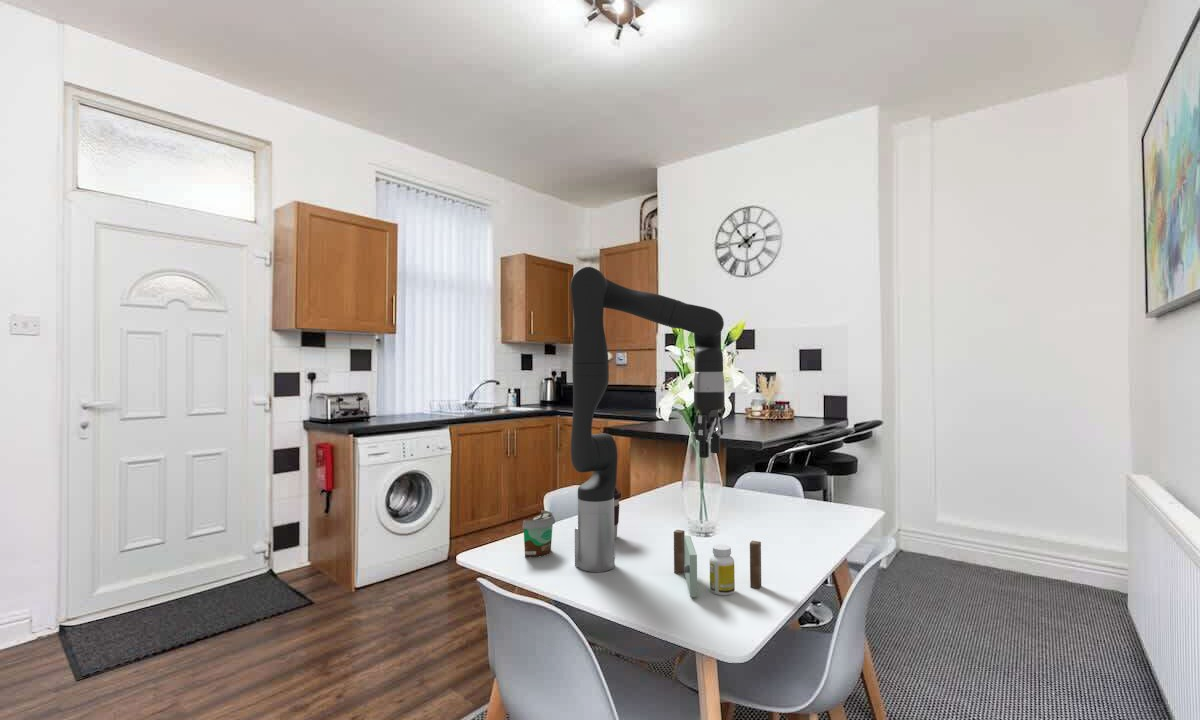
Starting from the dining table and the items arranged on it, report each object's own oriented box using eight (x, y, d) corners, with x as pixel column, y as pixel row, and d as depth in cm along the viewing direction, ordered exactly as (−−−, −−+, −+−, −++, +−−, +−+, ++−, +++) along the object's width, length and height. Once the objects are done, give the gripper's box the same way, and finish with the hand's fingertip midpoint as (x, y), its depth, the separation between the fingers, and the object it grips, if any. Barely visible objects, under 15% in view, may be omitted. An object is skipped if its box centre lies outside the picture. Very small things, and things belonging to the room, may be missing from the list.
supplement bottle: (739, 590, 123) (738, 546, 123) (727, 598, 119) (726, 552, 119) (717, 584, 127) (717, 541, 127) (705, 591, 123) (704, 547, 123)
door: (679, 573, 133) (679, 535, 133) (690, 573, 133) (690, 535, 133) (685, 596, 119) (684, 554, 119) (697, 597, 119) (696, 555, 119)
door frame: (674, 573, 134) (673, 531, 135) (677, 570, 136) (676, 529, 136) (759, 588, 124) (758, 544, 124) (761, 585, 126) (760, 541, 126)
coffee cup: (602, 530, 170) (601, 481, 171) (628, 536, 164) (627, 486, 164) (581, 538, 163) (580, 487, 163) (607, 544, 157) (606, 491, 157)
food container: (543, 561, 143) (543, 522, 144) (522, 559, 145) (522, 520, 146) (562, 547, 155) (562, 511, 155) (542, 544, 157) (542, 509, 157)
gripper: (714, 391, 130) (715, 460, 129) (732, 389, 142) (733, 452, 142) (684, 391, 133) (685, 458, 133) (704, 389, 146) (704, 450, 145)
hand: (709, 455), depth 137 cm, fingers open, 8 cm apart
